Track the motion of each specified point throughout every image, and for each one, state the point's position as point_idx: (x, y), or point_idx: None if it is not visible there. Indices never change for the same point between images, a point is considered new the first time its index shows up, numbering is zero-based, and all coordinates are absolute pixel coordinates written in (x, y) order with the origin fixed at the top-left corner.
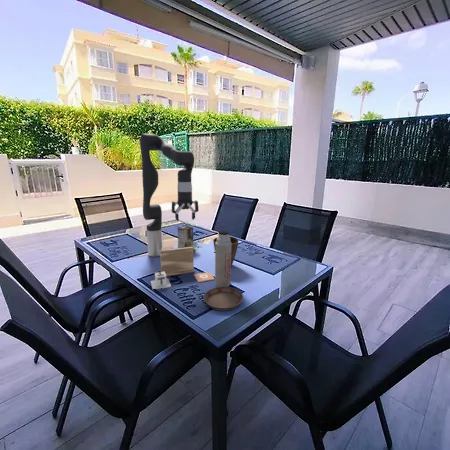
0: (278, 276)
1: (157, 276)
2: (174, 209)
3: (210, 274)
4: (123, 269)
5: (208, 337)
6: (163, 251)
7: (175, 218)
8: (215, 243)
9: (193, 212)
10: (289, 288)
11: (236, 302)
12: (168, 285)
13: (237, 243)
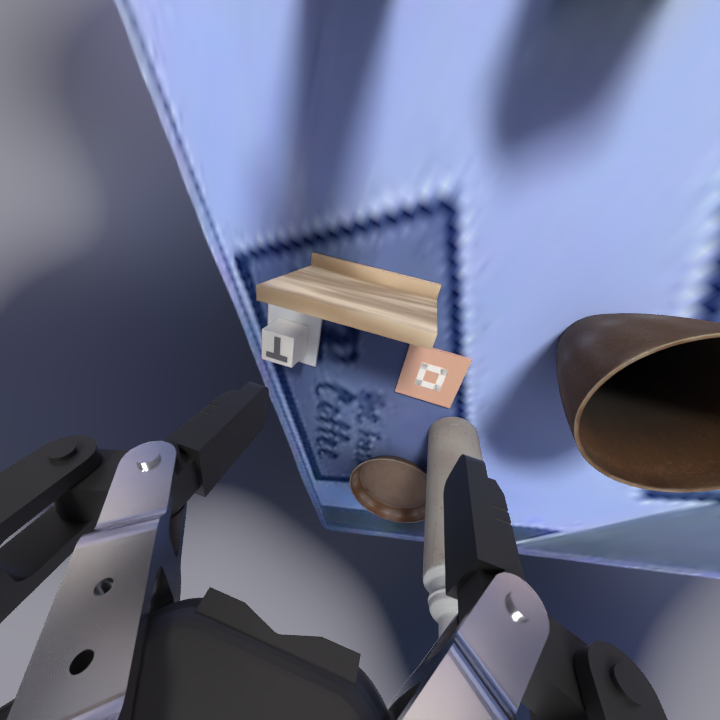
0: (644, 510)
1: (266, 358)
2: (49, 569)
3: (459, 379)
4: (184, 120)
5: (319, 514)
6: (272, 303)
7: (219, 401)
8: (428, 567)
9: (457, 621)
10: (579, 547)
11: (414, 501)
12: (309, 360)
13: (699, 482)
